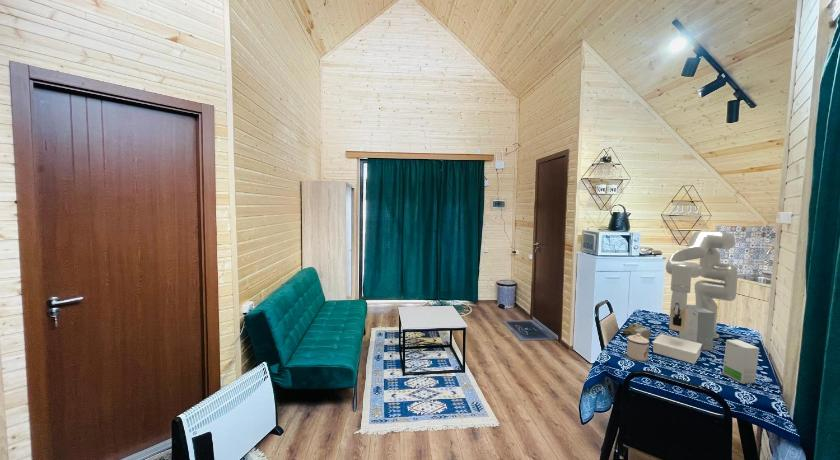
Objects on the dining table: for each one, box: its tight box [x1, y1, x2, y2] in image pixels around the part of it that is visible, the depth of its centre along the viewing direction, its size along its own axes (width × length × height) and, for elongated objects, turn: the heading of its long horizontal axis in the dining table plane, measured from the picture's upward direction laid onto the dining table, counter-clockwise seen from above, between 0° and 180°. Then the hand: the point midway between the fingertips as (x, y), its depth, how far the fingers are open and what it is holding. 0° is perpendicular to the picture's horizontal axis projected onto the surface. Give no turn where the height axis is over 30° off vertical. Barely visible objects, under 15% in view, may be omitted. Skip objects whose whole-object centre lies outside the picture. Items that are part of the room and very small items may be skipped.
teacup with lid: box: [626, 333, 650, 362], centre depth 156 cm, size 12×9×12 cm
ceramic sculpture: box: [618, 322, 652, 340], centre depth 180 cm, size 11×9×15 cm
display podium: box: [652, 333, 702, 365], centre depth 160 cm, size 17×17×5 cm
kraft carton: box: [668, 308, 688, 332], centre depth 159 cm, size 5×6×11 cm
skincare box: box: [722, 339, 760, 384], centre depth 135 cm, size 8×7×16 cm
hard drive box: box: [678, 304, 715, 352], centre depth 170 cm, size 16×8×20 cm, turn 168°
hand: (678, 323), depth 159 cm, fingers closed on kraft carton, 5 cm apart
